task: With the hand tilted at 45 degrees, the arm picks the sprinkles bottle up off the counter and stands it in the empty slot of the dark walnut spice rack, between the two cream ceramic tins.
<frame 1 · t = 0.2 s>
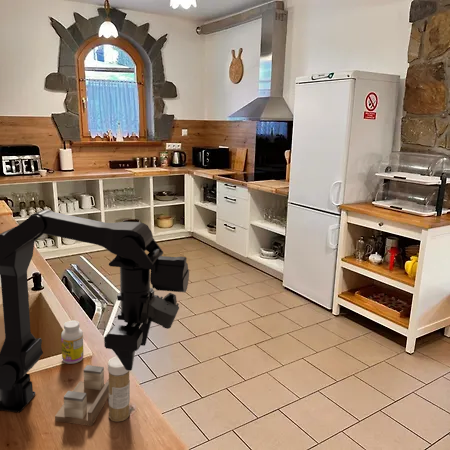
hand: (136, 357, 87), 15 cm above the worktop, tool pointing down, fingers open, 9 cm apart
walnut spice rack: (85, 404, 94), on the worktop
supplement bottle: (73, 359, 111), on the worktop
sprinkles bottle: (119, 416, 92), on the worktop
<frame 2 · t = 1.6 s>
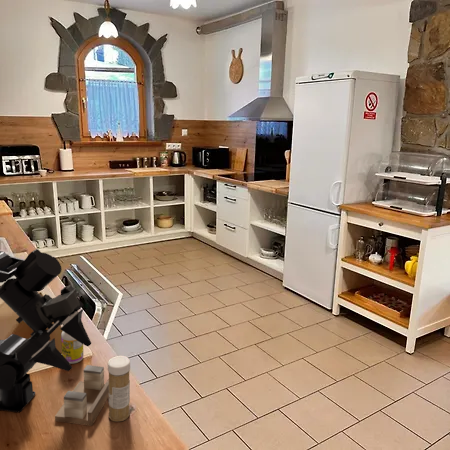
hand: (80, 356, 89), 13 cm above the worktop, tool tilted 45°, fingers open, 9 cm apart
nothing on the worktop moved.
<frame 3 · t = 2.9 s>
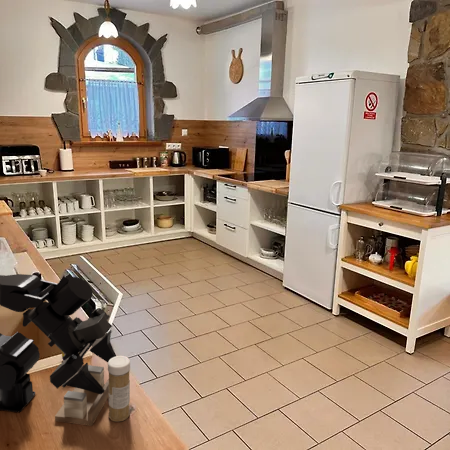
hand: (111, 378, 89), 9 cm above the worktop, tool tilted 45°, fingers open, 9 cm apart
nothing on the worktop moved.
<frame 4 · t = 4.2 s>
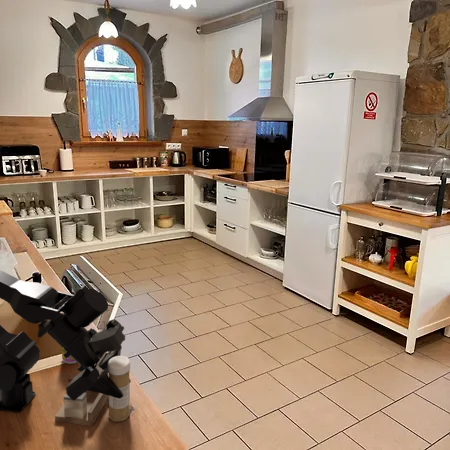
hand: (125, 390, 90), 7 cm above the worktop, tool tilted 45°, fingers closed on sprinkles bottle, 4 cm apart
sprinkles bottle: (119, 416, 92), on the worktop, touching gripper
everything else where it was.
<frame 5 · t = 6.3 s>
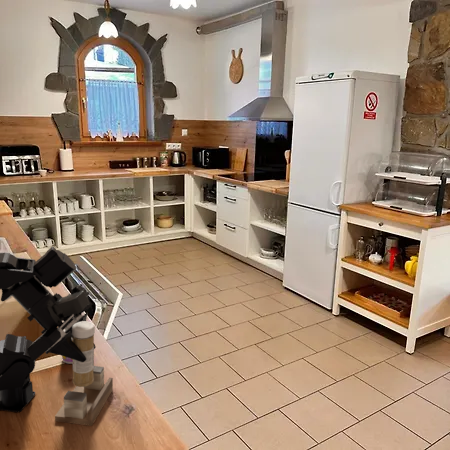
hand: (89, 354, 91), 13 cm above the worktop, tool tilted 45°, fingers closed on sprinkles bottle, 4 cm apart
sprinkles bottle: (83, 382, 92), point 6 cm above the worktop, touching gripper
everything else where it was.
when the fingers open (9 cm above the worktop, at t = 7.3 s): sprinkles bottle drops 1 cm, resting on walnut spice rack.
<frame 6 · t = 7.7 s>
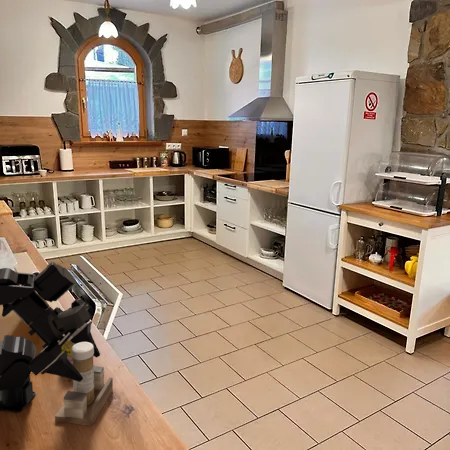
hand: (90, 367, 92), 10 cm above the worktop, tool tilted 45°, fingers open, 9 cm apart
sprinkles bottle: (84, 401, 94), point 1 cm above the worktop, touching walnut spice rack
everything else where it was.
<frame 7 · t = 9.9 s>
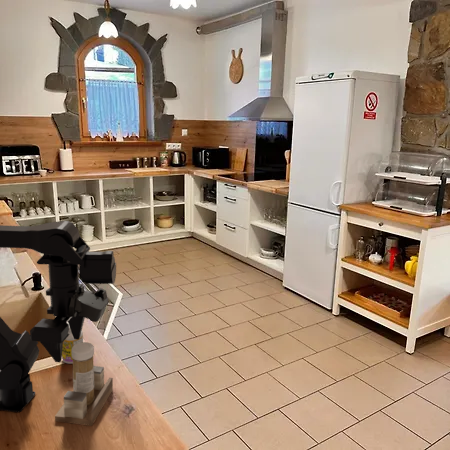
hand: (68, 349, 92), 13 cm above the worktop, tool pointing down, fingers open, 9 cm apart
nothing on the worktop moved.
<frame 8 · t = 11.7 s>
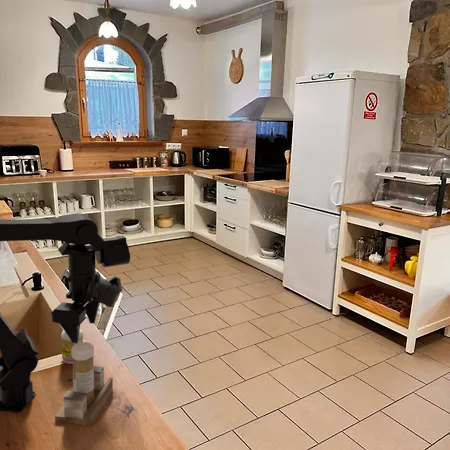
hand: (84, 332, 99), 13 cm above the worktop, tool pointing down, fingers open, 9 cm apart
nothing on the worktop moved.
at the end: sprinkles bottle 0.5 cm off-centre on the walnut spice rack, point 1.0 cm above the walnut spice rack's base; sprinkles bottle tilted 0°; the gripper is holding nothing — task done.
